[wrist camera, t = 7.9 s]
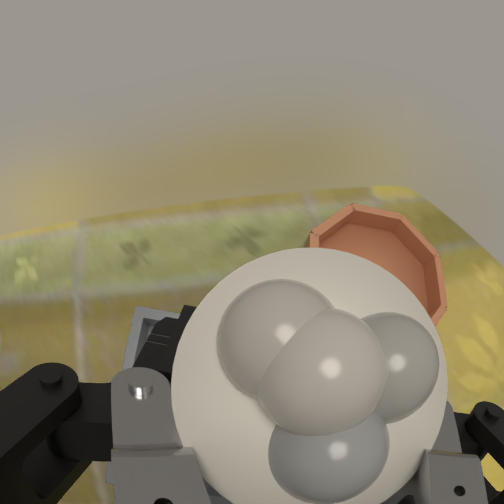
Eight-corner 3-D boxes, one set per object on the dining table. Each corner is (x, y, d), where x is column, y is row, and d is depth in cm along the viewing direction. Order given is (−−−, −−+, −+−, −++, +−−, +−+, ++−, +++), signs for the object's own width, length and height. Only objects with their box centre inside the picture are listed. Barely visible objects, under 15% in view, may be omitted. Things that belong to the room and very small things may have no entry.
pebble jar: (192, 445, 12) (132, 541, 2) (207, 343, 15) (199, 177, 5) (302, 456, 12) (486, 513, 2) (311, 356, 15) (476, 234, 5)
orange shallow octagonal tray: (296, 351, 26) (305, 343, 23) (303, 213, 32) (310, 195, 30) (432, 358, 26) (451, 350, 23) (419, 235, 33) (432, 221, 30)
